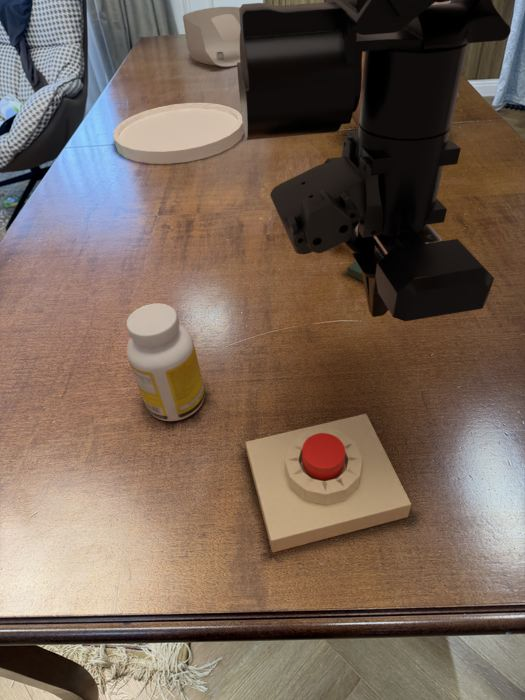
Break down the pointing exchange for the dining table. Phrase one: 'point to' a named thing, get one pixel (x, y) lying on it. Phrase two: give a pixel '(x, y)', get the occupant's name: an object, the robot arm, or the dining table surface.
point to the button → (323, 456)
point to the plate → (178, 133)
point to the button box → (324, 485)
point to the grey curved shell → (214, 35)
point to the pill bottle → (164, 362)
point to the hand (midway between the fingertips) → (376, 313)
